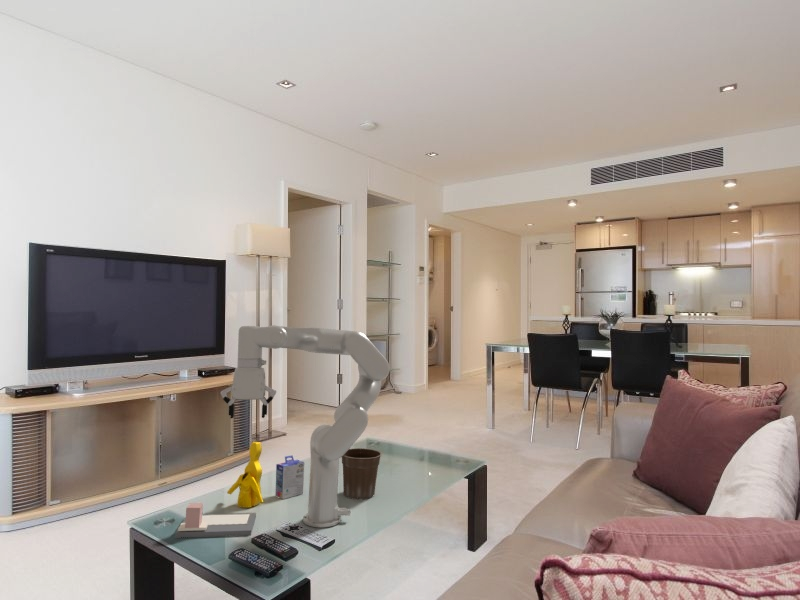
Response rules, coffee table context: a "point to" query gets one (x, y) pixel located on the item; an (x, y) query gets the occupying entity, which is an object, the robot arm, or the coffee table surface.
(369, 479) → the plant pot
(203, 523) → the stub
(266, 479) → the coffee table surface
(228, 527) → the board
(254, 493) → the figure statuette
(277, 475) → the ink cartridge box
